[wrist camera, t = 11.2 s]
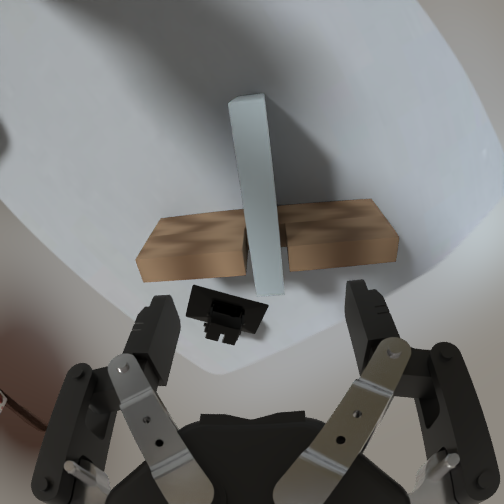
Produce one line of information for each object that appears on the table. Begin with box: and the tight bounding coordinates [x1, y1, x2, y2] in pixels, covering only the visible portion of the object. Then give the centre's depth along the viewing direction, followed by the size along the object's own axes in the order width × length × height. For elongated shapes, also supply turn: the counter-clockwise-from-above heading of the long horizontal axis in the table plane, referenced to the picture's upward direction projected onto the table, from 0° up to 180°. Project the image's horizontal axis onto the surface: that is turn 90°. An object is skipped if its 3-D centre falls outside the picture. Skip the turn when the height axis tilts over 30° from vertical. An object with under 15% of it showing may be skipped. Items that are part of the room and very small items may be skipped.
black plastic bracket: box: [186, 285, 269, 345], centre depth 37 cm, size 12×7×5 cm, turn 73°
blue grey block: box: [228, 93, 285, 297], centre depth 26 cm, size 16×2×8 cm, turn 7°
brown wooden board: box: [136, 199, 399, 282], centre depth 29 cm, size 22×2×8 cm, turn 97°
